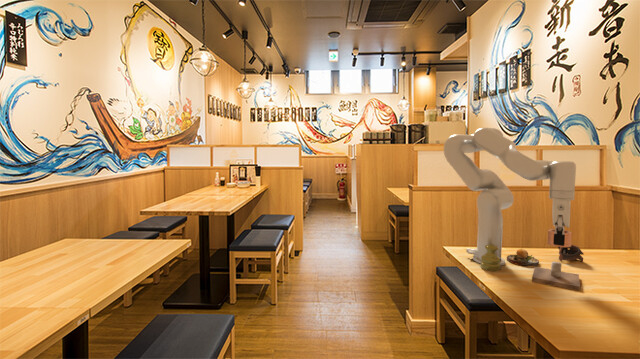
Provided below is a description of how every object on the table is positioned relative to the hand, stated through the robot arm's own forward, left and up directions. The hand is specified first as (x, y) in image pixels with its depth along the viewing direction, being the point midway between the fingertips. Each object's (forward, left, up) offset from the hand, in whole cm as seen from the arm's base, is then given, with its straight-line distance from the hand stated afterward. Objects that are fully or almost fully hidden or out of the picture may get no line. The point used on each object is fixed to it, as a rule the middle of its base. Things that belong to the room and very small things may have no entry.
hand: (559, 242), depth 123 cm
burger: (-12, +16, -15) cm, 25 cm away
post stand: (0, 0, -14) cm, 14 cm away
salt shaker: (-22, -1, -14) cm, 26 cm away
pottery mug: (+4, +31, -15) cm, 35 cm away
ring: (0, 0, -1) cm, 1 cm away
